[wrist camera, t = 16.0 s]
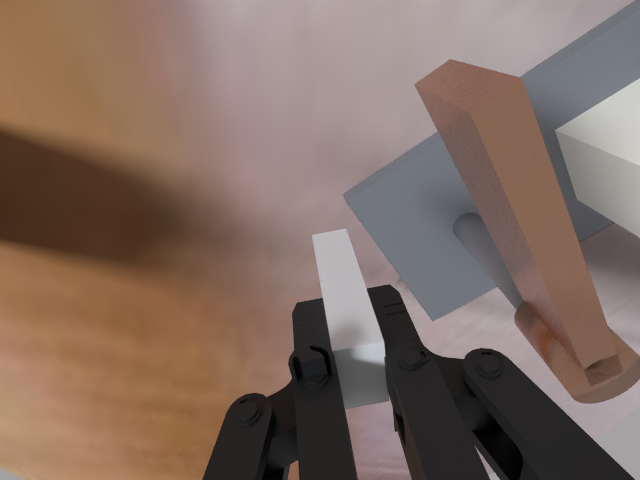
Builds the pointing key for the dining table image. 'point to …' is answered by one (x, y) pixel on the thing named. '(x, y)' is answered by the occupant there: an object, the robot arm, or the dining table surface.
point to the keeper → (528, 225)
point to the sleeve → (607, 157)
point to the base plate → (453, 197)
